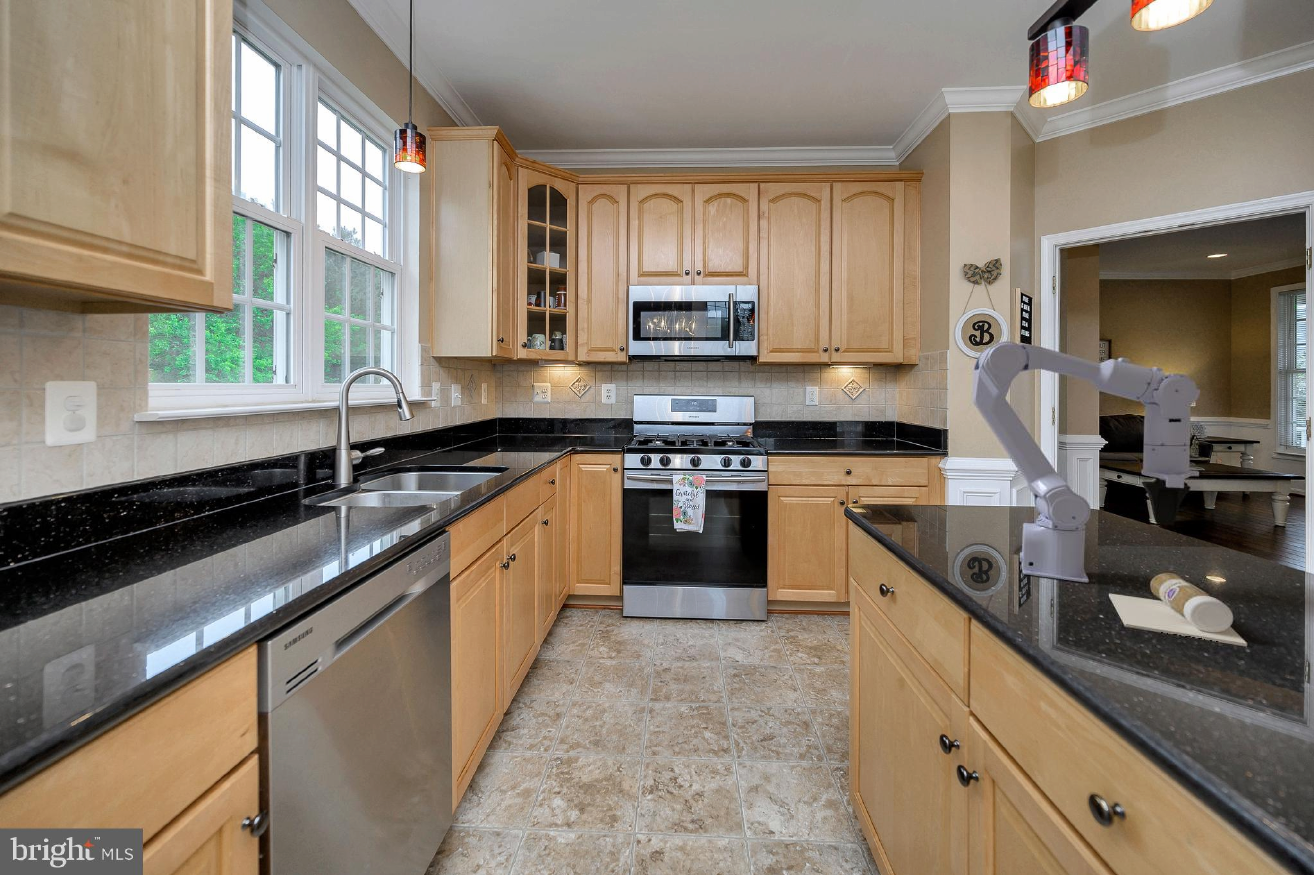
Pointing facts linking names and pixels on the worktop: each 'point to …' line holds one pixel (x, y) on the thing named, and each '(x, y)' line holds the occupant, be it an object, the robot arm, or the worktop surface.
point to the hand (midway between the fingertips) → (1164, 523)
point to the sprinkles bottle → (1192, 603)
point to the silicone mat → (1165, 620)
